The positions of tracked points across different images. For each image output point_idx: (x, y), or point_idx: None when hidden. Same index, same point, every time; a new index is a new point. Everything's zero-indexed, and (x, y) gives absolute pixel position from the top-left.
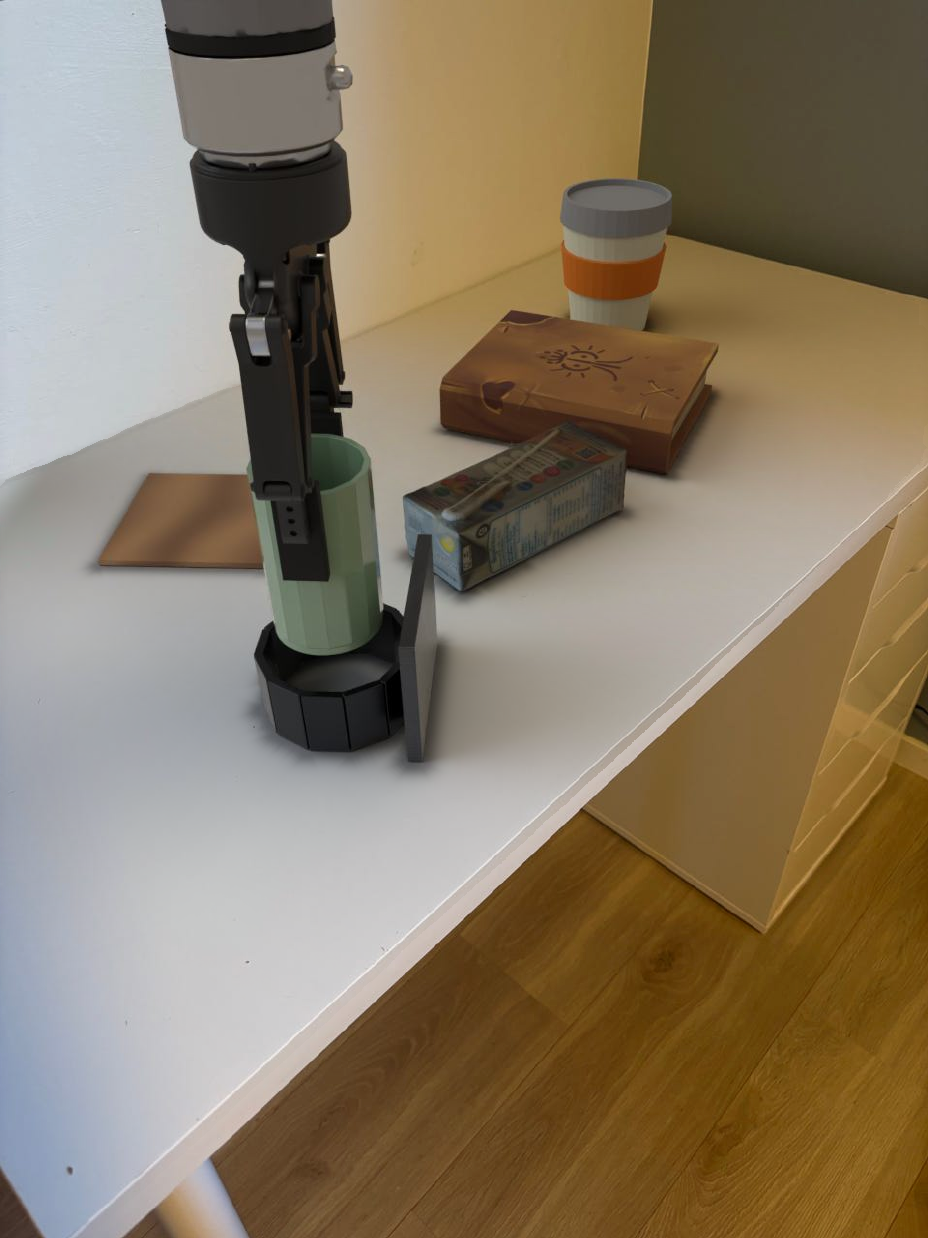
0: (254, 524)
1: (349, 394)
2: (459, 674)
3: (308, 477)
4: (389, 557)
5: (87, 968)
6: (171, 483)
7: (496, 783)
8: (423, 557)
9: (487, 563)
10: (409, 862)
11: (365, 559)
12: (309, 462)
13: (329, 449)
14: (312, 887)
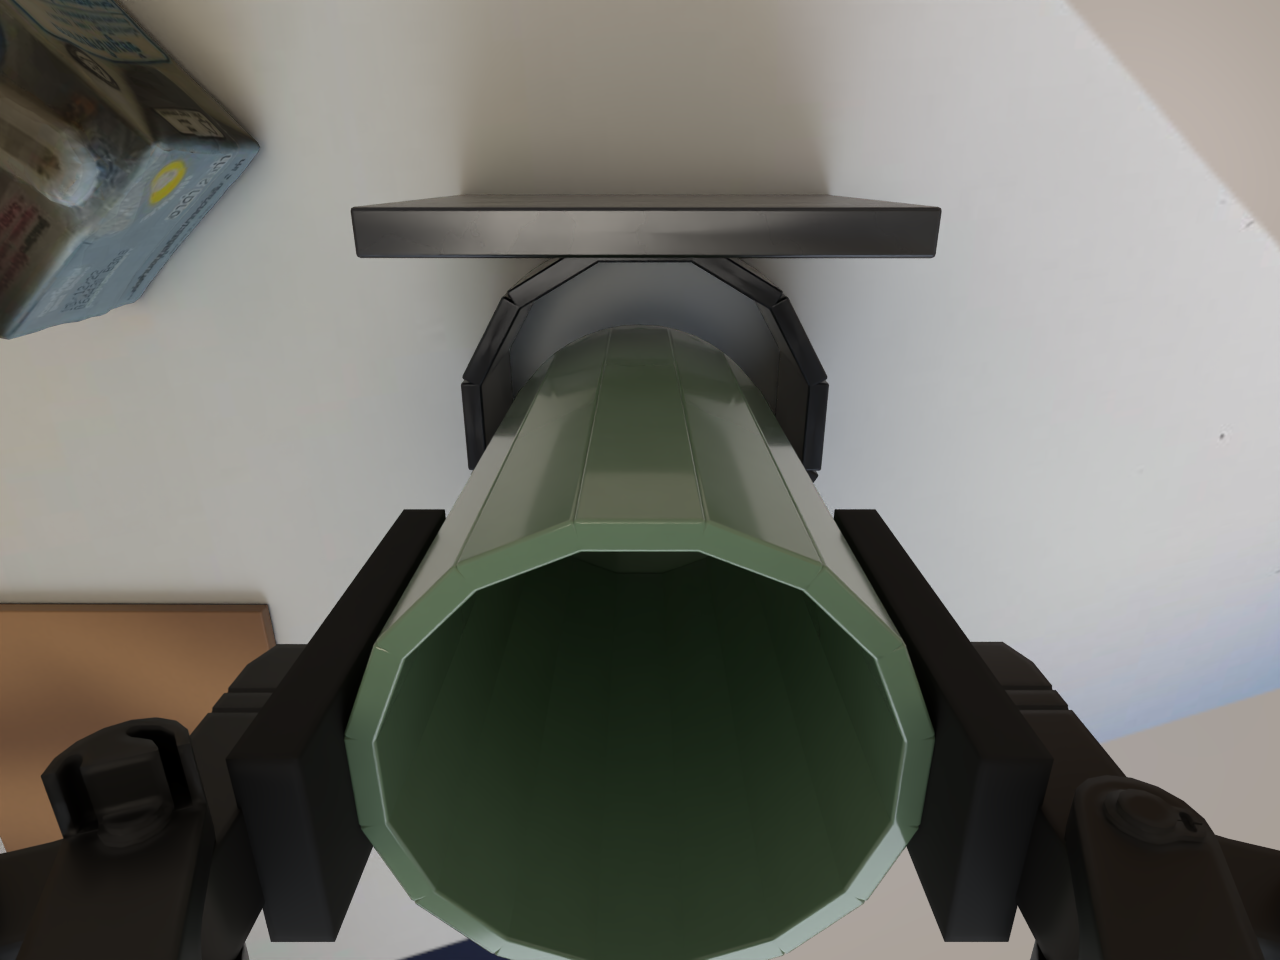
0: (130, 653)
1: (72, 774)
2: (559, 131)
3: (1213, 862)
4: (157, 346)
5: (1181, 640)
6: (36, 828)
7: (897, 19)
8: (488, 224)
9: (157, 68)
10: (1077, 195)
11: (737, 410)
12: (1174, 913)
13: (398, 698)
14: (1101, 363)
